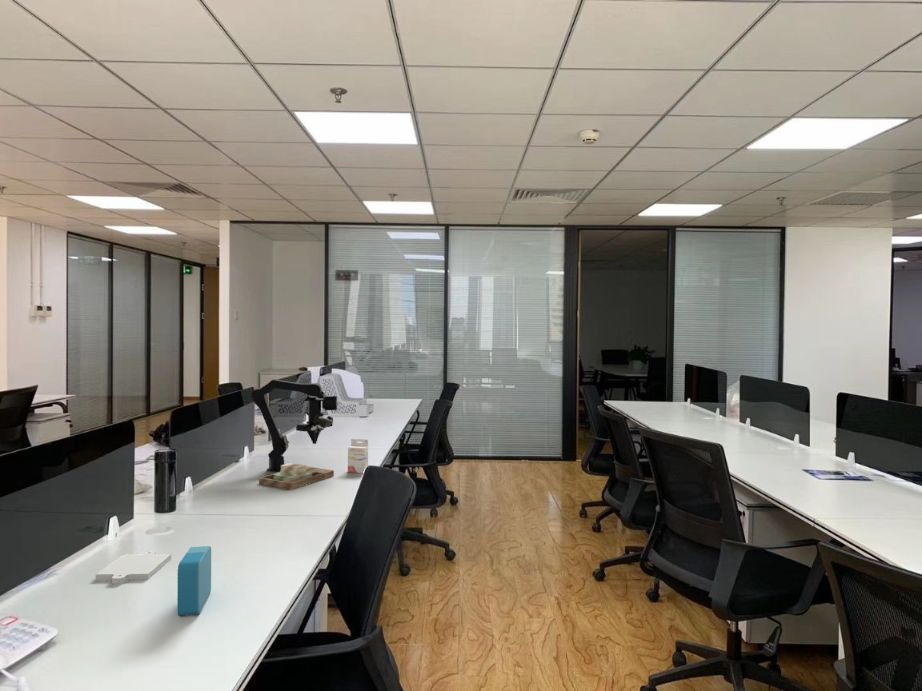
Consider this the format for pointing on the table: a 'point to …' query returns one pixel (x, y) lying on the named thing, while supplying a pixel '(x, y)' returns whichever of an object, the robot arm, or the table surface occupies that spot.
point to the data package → (194, 580)
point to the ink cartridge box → (357, 456)
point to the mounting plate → (134, 567)
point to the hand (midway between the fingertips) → (314, 443)
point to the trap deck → (296, 478)
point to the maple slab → (293, 469)
